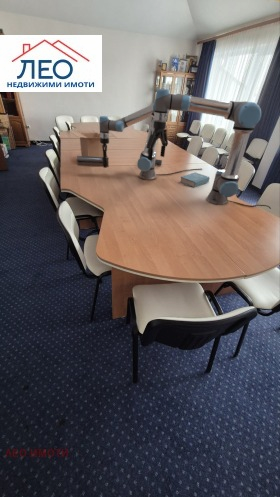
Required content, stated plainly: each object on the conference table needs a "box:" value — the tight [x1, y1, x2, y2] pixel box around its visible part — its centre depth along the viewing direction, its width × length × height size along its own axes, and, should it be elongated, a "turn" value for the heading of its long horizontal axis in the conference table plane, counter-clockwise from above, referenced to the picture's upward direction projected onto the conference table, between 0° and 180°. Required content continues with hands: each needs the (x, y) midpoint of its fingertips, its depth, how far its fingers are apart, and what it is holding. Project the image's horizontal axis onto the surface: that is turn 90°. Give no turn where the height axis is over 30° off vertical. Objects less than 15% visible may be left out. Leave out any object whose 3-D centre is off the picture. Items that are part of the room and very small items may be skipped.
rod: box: [76, 155, 110, 168], centre depth 193 cm, size 27×8×8 cm, turn 96°
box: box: [70, 129, 114, 157], centre depth 229 cm, size 44×36×27 cm
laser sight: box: [155, 158, 163, 166], centre depth 237 cm, size 10×22×10 cm, turn 78°
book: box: [179, 171, 210, 188], centre depth 200 cm, size 23×16×5 cm
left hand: (105, 166), depth 196 cm, fingers closed on rod, 8 cm apart
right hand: (156, 158), depth 144 cm, fingers open, 13 cm apart
